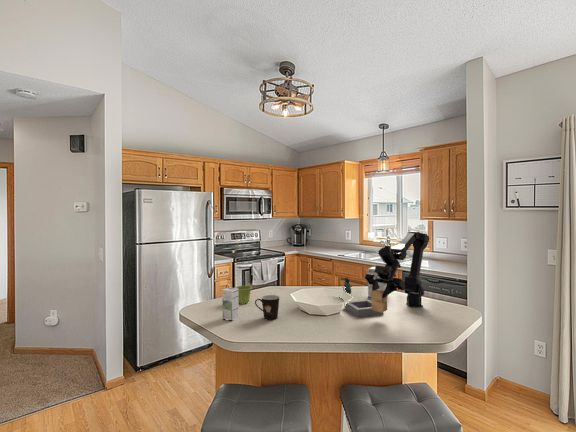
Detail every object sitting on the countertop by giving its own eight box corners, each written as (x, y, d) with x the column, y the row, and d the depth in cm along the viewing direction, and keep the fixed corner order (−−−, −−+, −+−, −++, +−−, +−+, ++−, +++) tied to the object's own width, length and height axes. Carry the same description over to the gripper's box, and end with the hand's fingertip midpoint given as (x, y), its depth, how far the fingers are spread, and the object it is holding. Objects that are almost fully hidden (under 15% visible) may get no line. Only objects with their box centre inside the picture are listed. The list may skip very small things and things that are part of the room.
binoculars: (333, 278, 198) (349, 276, 198) (335, 295, 198) (351, 293, 198) (335, 281, 189) (352, 279, 189) (337, 299, 189) (354, 297, 189)
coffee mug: (283, 317, 155) (283, 296, 155) (270, 322, 149) (270, 300, 149) (266, 312, 163) (266, 293, 163) (253, 316, 157) (253, 296, 157)
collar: (368, 306, 172) (368, 299, 172) (383, 314, 159) (383, 306, 159) (344, 308, 168) (344, 302, 168) (357, 317, 155) (357, 309, 155)
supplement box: (383, 299, 186) (383, 269, 185) (367, 297, 191) (367, 268, 190) (388, 295, 194) (387, 267, 193) (373, 293, 199) (372, 266, 199)
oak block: (377, 307, 153) (377, 289, 153) (387, 310, 150) (386, 290, 150) (371, 310, 150) (371, 290, 150) (381, 312, 146) (381, 292, 146)
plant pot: (238, 300, 187) (237, 285, 187) (253, 300, 186) (253, 285, 186) (233, 305, 178) (232, 289, 178) (249, 305, 176) (249, 289, 176)
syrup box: (239, 317, 156) (238, 287, 156) (232, 321, 150) (231, 290, 150) (229, 316, 158) (229, 286, 158) (222, 320, 153) (221, 289, 153)
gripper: (366, 257, 159) (353, 283, 152) (402, 261, 145) (389, 289, 138) (375, 270, 164) (363, 296, 157) (410, 275, 151) (398, 304, 143)
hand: (377, 296), depth 149 cm, fingers closed on oak block, 5 cm apart
